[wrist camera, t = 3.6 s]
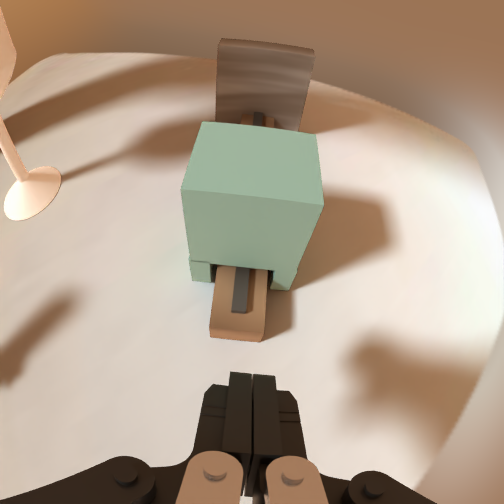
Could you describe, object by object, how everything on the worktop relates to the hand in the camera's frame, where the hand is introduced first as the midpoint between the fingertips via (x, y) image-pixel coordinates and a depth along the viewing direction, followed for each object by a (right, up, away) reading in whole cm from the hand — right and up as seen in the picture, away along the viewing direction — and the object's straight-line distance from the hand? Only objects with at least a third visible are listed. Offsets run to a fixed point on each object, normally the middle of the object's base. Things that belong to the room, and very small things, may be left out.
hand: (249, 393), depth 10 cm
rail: (0, +9, +14) cm, 17 cm away
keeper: (-1, +5, +11) cm, 12 cm away
